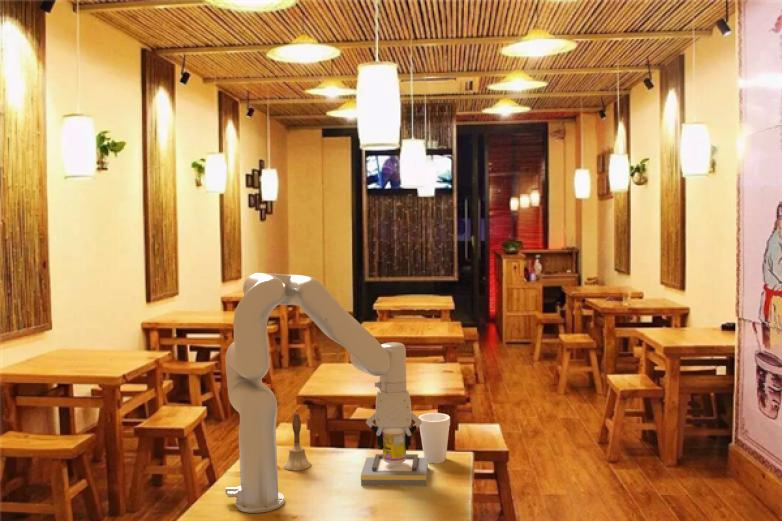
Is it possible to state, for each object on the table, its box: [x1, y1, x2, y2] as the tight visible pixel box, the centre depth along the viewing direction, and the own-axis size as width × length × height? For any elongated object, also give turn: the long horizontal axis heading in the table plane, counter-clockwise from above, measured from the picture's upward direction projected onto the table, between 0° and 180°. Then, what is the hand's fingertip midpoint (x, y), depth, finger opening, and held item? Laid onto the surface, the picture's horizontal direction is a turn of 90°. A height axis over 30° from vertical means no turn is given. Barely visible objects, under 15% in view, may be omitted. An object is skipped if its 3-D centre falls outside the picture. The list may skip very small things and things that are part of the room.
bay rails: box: [372, 453, 419, 471], centre depth 208 cm, size 12×11×1 cm
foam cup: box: [417, 412, 451, 464], centre depth 219 cm, size 10×9×13 cm
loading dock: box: [360, 456, 429, 487], centre depth 206 cm, size 18×14×3 cm
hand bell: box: [283, 412, 312, 472], centre depth 216 cm, size 8×8×16 cm
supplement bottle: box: [382, 428, 407, 464], centre depth 206 cm, size 7×7×13 cm
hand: (394, 447), depth 207 cm, fingers closed on supplement bottle, 6 cm apart
